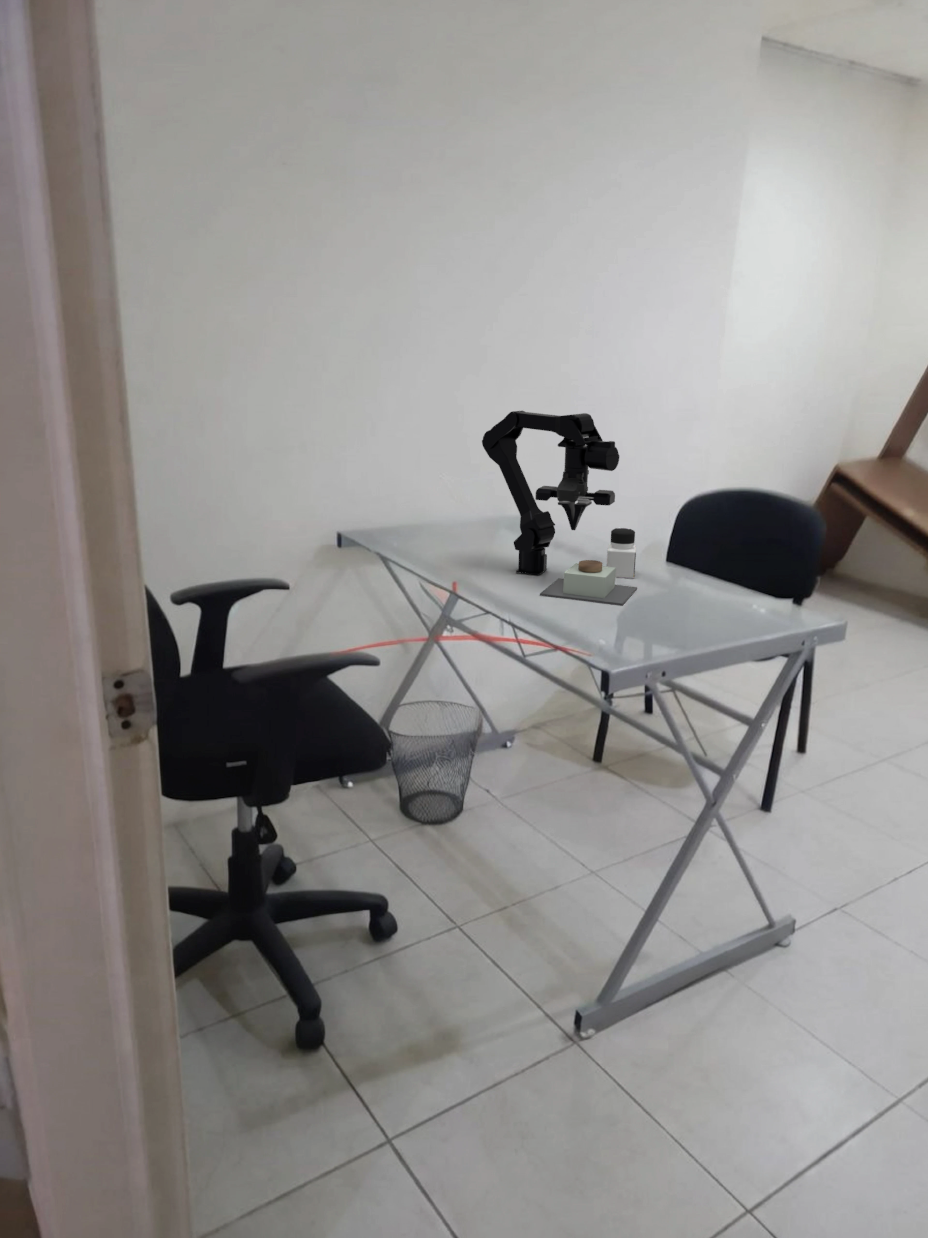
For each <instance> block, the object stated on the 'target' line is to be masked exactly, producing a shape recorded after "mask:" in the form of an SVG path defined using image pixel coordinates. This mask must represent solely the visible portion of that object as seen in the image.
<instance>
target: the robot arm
mask: <svg viewBox="0 0 928 1238" xmlns="http://www.w3.org/2000/svg"><path fill="white" fill-rule="evenodd" d="M595 425H596V424H595V422H594V419H593V418H592V416H591V414H589V413H586V412H584V413H575V414H574V413H573V414H566V415H555V414H545V413H539V412H528V411H524V410H515V411H510V412H509V413H508V414H507V415H506V416H505V417H504V418H503V419H502V420H500V421H499V422H498V423H496V424H495V425H494V426H493V427H491V428H490V430H487V431H486V432H485V433H484V434H483V437H482V440H481V443H482V447H483V449H484V450H485V453H486V454H487V456H488V458H490V460H492V461H493V462H494V463H495V464H496V465H498V467H499V469H500V471H501V474H502V476H503V478H504V482H505V483H506V485H507V488H508V490H509V492H510V495H511V496H512V499H513V501H514V504H515V506H516V508H517V510H518V513H519V516H520V519H519V529H520V532H521V534H520V535H519V536H518V537H517V538H516V539H515V540H513V546H514V550H516V551H518V566H517V568H518V569H517V570H516V571H515V573H519V574H525V575H526V574H527V575H534V576H540V575H542V574H543V573H544V572H545V571H547V569H548V568H547V563H548V562H547V560H548V554H547V553H546V548H549V547H550V544H551V541H553V539H554V537H555V534H556V529H555V526H556V524H555V523H554V521H553V519H552V516H551V513H550V512H549V511H548V510H546V511H542V510H541V509H540V508H539V507H538V505H537V502H536V501H543V502H544V501H545V502H547V501H548V500H550V499H551V498H557V501H558V502H557V506H561V507H562V508H563V509H564V512H565V513H566V517H567V519H568V523H569V527H570V530H571V531H576V530H577V527H578V525H579V522H580V520H581V517H582V516H583V514H584V512H585V510H586V508H588V506H590V505H592V502H593V503H594V504H595V505H597V506H611V505H612V504H614V503H615V502H616V501H615V499H616V493H615V492H614V490H610V489H609V490H607V489H598V490H596V491H594V492H588V491H589V487H588V478H589V473H590V470H591V469H593V470H601V471H609V472H613V471H615V470H616V469H617V468H618V465H619V461H620V454H619V449H618V448H617V447H616V442H615V441H612V440H608V441H605V440H604V439H603V438H602V437H601V435H600V433H599V431H598V429H597V427H596V426H595ZM524 429H529V430H537V431H546V432H552V433H555V434H557V435H558V436H559V437H563V439H562V440H561V441H560V442H559V443H557V447H559V448H564V451H565V452H564V471H563V473H562V479H561V481H560V482H559V484H558V485H557V486H551V485H543V486H541V487H539V488H537V489H536V491H535V497H534V495H533V493H532V490H531V488H530V485H529V483H528V482H527V479H526V477H525V475H524V471H523V470H522V467H521V466H520V465H521V464H519V461H518V458H517V456H518V454H517V453H518V444H517V439H518V438H520V436H521V435H522V432H523V430H524ZM603 440H604V441H603ZM589 468H590V470H589Z"/></svg>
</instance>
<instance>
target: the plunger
mask: <svg viewBox="0 0 928 1238" xmlns="http://www.w3.org/2000/svg"><path fill="white" fill-rule="evenodd" d="M578 564H579V568H578V569H579V570H580V571H583V572H600V571H602V566H603V562H601V561H599V560H594V559H584V560H580V561H579V562H578Z"/></svg>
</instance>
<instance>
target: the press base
mask: <svg viewBox="0 0 928 1238" xmlns="http://www.w3.org/2000/svg"><path fill="white" fill-rule="evenodd" d="M578 568H579V562H578V563H573V565H572V566H570V567H569V568H568V569H567V570H565V572H563V578H562V577H561V578H560V577H558V578H557V579H556V580H554V582H552V583H551V584H549V585H548V586H547V587H546V588H545V589H544V590H542V591H541V592H540V593H539V596H541V597H549V598H555V599H556V598H558V599H563V600H564V599H565V600H574V601H581V602H582V601H583V602H589V603H590V602H591V603H597V604H598V603H599V604H606V605H616V606H624V605H625V604H626V603H627V601H628V600H629V599H630V598H631V597H632V596H633V594H634V593H635V592H636V591H637V590H638V586H631V585H623V584H622V585H621V584H616V577H615V572H616V568H615V567H607V565H606V566H603V565H602V571H600V572H583V571H580V570H579V569H578Z"/></svg>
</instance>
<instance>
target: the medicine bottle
mask: <svg viewBox="0 0 928 1238" xmlns="http://www.w3.org/2000/svg"><path fill="white" fill-rule="evenodd" d="M635 538H636V532H635V530H634V529H631V528H628V527H615V528H614V529H612V530H611V531H610V543H609V544H608V546H607V550H606V551H607V552H606V553H607V555H606V567H615V568H616V572H615V578H621V579H634V578H635V571H636V557H637V545H635V542H636V541H635V540H636V539H635Z"/></svg>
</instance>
